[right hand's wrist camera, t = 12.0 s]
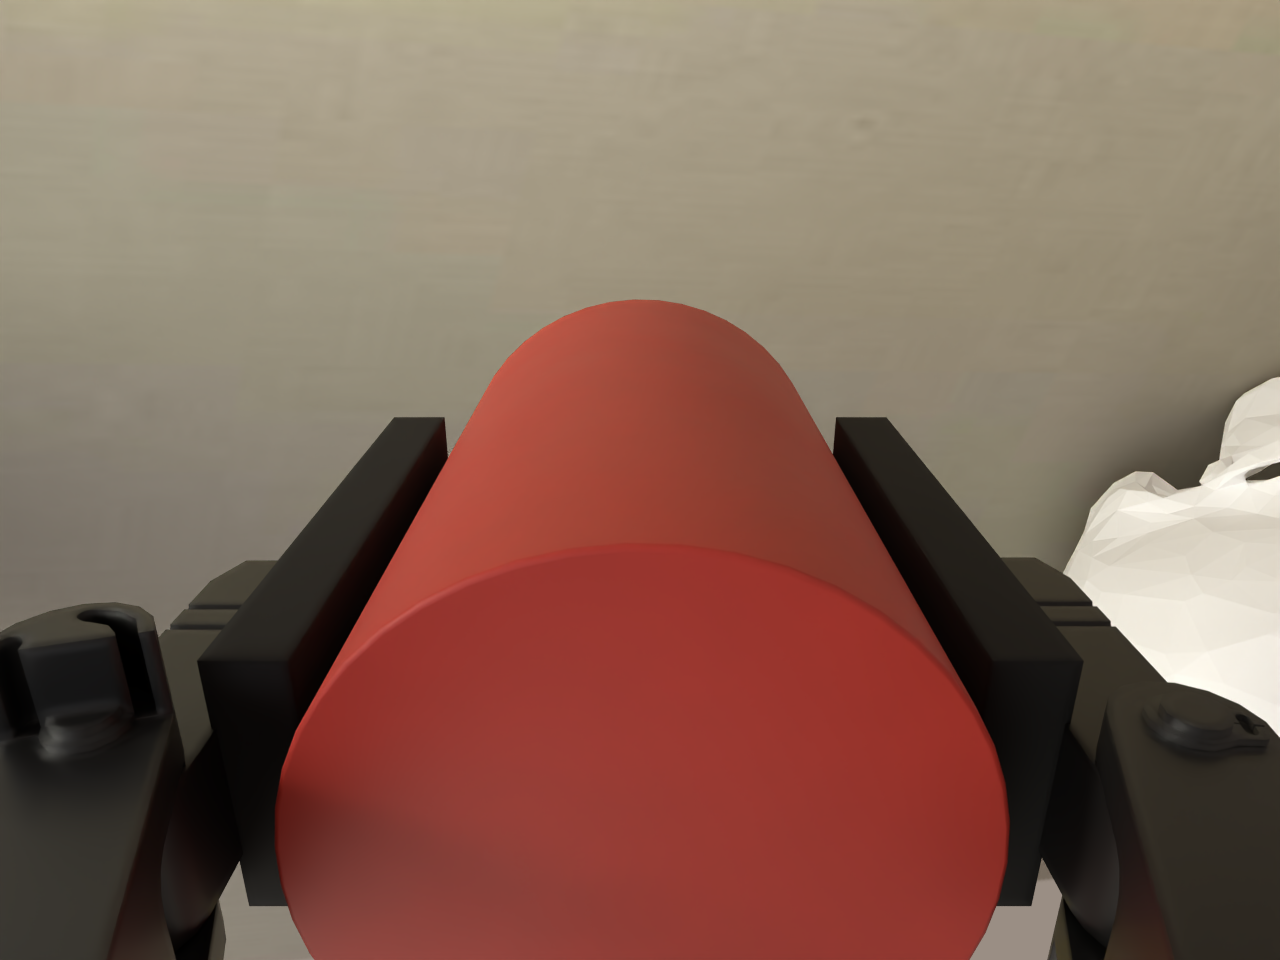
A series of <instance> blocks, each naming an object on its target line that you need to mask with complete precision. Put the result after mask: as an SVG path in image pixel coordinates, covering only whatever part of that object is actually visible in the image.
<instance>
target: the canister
mask: <svg viewBox="0 0 1280 960" xmlns="http://www.w3.org/2000/svg"><path fill="white" fill-rule="evenodd" d="M1009 830H1010V817H1009V808H1008V799H1007V790H1006V782H1005V779H1004V776H1003V772H1002V769H1001V765H1000V762H999V758H998V755H997V752H996V748H995V745H994V743H993V741H992V739H991V737H990V735H989V733H988V731H987V728H986V726H985V724H984V722H983V720H982V718H981V716H980V714H979V712H978V710H977V708H976V706H975V704H974V703H973V701H972V699H971V697H970V696H969V694H968V692H967V690H966V689H965V687H964V685H963V683H962V681H961V680H960V678H959V676H958V674H957V673H956V671H955V669H954V667H953V666H952V664H951V662H950V660H949V659H948V657H947V655H946V653H945V652H944V650H943V648H942V646H941V644H940V643H939V641H938V639H937V637H936V636H935V634H934V632H933V630H932V629H931V627H930V625H929V623H928V622H927V620H926V618H925V616H924V615H923V613H922V611H921V609H920V607H919V606H918V604H917V602H916V600H915V599H914V597H913V595H912V593H911V592H910V590H909V588H908V586H907V585H906V583H905V581H904V579H903V577H902V576H901V574H900V572H899V570H898V569H897V567H896V565H895V563H894V562H893V560H892V558H891V556H890V555H889V553H888V551H887V549H886V548H885V546H884V544H883V542H882V540H881V539H880V537H879V535H878V533H877V532H876V530H875V528H874V526H873V525H872V523H871V521H870V519H869V518H868V516H867V514H866V512H865V511H864V509H863V507H862V505H861V503H860V502H859V500H858V498H857V496H856V495H855V493H854V491H853V489H852V488H851V486H850V484H849V482H848V481H847V479H846V477H845V475H844V474H843V472H842V470H841V468H840V466H839V465H838V463H837V461H836V459H835V458H834V456H833V454H832V452H831V451H830V449H829V447H828V445H827V444H826V442H825V440H824V438H823V437H822V435H821V433H820V431H819V429H818V428H817V426H816V424H815V422H814V421H813V419H812V417H811V415H810V414H809V412H808V410H807V408H806V407H805V405H804V403H803V401H802V399H801V398H800V396H799V394H798V392H797V391H796V389H795V387H794V385H793V384H792V382H791V381H790V379H789V378H788V376H787V375H786V373H785V372H784V370H783V369H782V368H781V366H780V365H779V363H778V362H777V361H776V360H775V359H774V358H773V357H772V356H771V355H770V354H769V353H768V351H767V350H766V349H765V348H764V347H763V346H761V345H760V344H759V343H758V342H757V341H755V340H754V339H753V338H752V337H751V336H749V335H748V334H747V333H746V332H744V331H742V330H741V329H739V328H737V327H736V326H734V325H733V324H731V323H729V322H728V321H726V320H724V319H722V318H719V317H717V316H715V315H713V314H711V313H708V312H706V311H703V310H700V309H697V308H693V307H690V306H687V305H683V304H678V303H672V302H666V301H659V300H625V301H616V302H608V303H604V304H600V305H596V306H592V307H588V308H584V309H582V310H579V311H577V312H574V313H572V314H569V315H566V316H564V317H562V318H560V319H558V320H557V321H555V322H553V323H551V324H549V325H548V326H546V327H544V328H542V329H541V330H540V331H538V332H537V333H536V334H534V335H533V336H532V337H530V338H529V339H528V340H526V341H525V342H524V343H523V344H522V345H521V346H520V347H519V348H518V349H517V350H516V351H515V352H514V353H513V354H512V355H511V356H509V357H508V359H507V360H506V361H505V363H504V364H503V365H502V366H501V368H500V369H499V370H498V372H497V373H496V374H495V376H494V377H493V379H492V381H491V383H490V384H489V386H488V388H487V390H486V391H485V393H484V395H483V397H482V398H481V400H480V402H479V404H478V406H477V407H476V409H475V411H474V413H473V415H472V416H471V418H470V420H469V422H468V424H467V425H466V427H465V429H464V431H463V432H462V434H461V436H460V438H459V440H458V441H457V443H456V445H455V447H454V449H453V450H452V452H451V454H450V456H449V457H448V459H447V461H446V463H445V465H444V466H443V468H442V470H441V472H440V474H439V475H438V477H437V479H436V481H435V483H434V484H433V486H432V488H431V490H430V491H429V493H428V495H427V497H426V499H425V500H424V502H423V504H422V506H421V508H420V509H419V511H418V513H417V515H416V517H415V518H414V520H413V522H412V524H411V525H410V527H409V529H408V531H407V533H406V534H405V536H404V538H403V540H402V542H401V543H400V545H399V547H398V549H397V551H396V552H395V554H394V556H393V558H392V559H391V561H390V563H389V565H388V567H387V568H386V570H385V572H384V574H383V576H382V577H381V579H380V581H379V583H378V585H377V586H376V588H375V590H374V592H373V593H372V595H371V597H370V599H369V601H368V602H367V604H366V606H365V608H364V610H363V611H362V613H361V615H360V617H359V619H358V620H357V622H356V624H355V626H354V627H353V629H352V631H351V633H350V635H349V636H348V638H347V640H346V642H345V644H344V645H343V647H342V649H341V651H340V652H339V654H338V656H337V658H336V660H335V661H334V663H333V665H332V667H331V669H330V670H329V672H328V674H327V676H326V678H325V679H324V681H323V683H322V685H321V686H320V688H319V690H318V692H317V694H316V695H315V697H314V699H313V701H312V703H311V704H310V706H309V708H308V710H307V712H306V713H305V715H304V717H303V719H302V720H301V722H300V724H299V726H298V728H297V729H296V731H295V734H294V737H293V740H292V742H291V745H290V748H289V751H288V753H287V756H286V759H285V762H284V764H283V767H282V771H281V776H280V782H279V787H278V793H277V798H276V804H275V852H276V858H277V864H278V870H279V877H280V883H281V887H282V890H283V893H284V896H285V899H286V902H287V905H288V908H289V911H290V914H291V917H292V920H293V922H294V924H295V926H296V928H297V929H298V931H299V933H300V935H301V937H302V939H303V941H304V943H305V945H306V947H307V949H308V951H309V953H310V954H311V956H312V957H313V958H314V960H970V958H971V956H972V955H973V953H974V951H975V950H976V948H977V946H978V944H979V943H980V941H981V939H982V938H983V936H984V934H985V932H986V930H987V927H988V925H989V923H990V920H991V918H992V915H993V913H994V910H995V908H996V905H997V903H998V900H999V897H1000V893H1001V889H1002V884H1003V880H1004V876H1005V871H1006V867H1007V863H1008V847H1009Z"/></svg>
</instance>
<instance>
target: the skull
mask: <svg viewBox="0 0 1280 960" xmlns="http://www.w3.org/2000/svg"><path fill="white" fill-rule="evenodd" d="M1278 462H1280V377H1276V378H1272V379H1270V380H1268V381H1266V382H1264V383H1262V384H1261V385H1259V386H1257V387H1255V388H1253V389H1251V390H1249V391H1247V392H1246V393H1244V394H1243V395H1242V396H1241V397H1240V398H1239V399H1238V400H1237V401H1236V402H1235V404H1234V406H1233V408H1232V410H1231V412H1230V414H1229V416H1228V418H1227V420H1226V422H1225V427H1224V433H1223V439H1222V445H1221V451H1220V458H1219V460H1218V461H1216V462H1214V463H1212V464H1209V465H1208V467H1207V468H1206V470H1205V472H1204V474H1203V476H1202V477H1201V479H1200V481H1199V482H1200V483H1201V486H1198V487H1192V488H1186V489H1180V490H1177V489H1176V488H1174V487H1173V486H1171V485H1170V484H1169V483H1167V482H1166V481H1165V480H1163V479H1162V478H1160V477H1159V476H1158V475H1156V474H1155V473H1154V472H1138V471H1135V472H1133V473H1132V474H1130V475H1128V476H1126V477H1124V478H1122V479H1120V480H1118V481H1116V482H1114V483H1113V484H1112V485H1111V486H1110V488H1109V489H1108V490H1107V491H1106V492H1105V493H1104V494H1103V495H1102V496H1101V497H1100V499H1099V500H1098V501H1097V502H1096V503H1095V504H1094V505H1093V506H1092V507H1091V510H1090V513H1089V517H1088V520H1087V523H1086V526H1085V530H1084V532H1083V534H1082V536H1081V538H1080V540H1079V543H1078V545H1077V547H1076V549H1075V551H1074V553H1073V555H1072V556H1071V558H1070V560H1069V562H1068V564H1067V566H1066V568H1065V570H1064V572H1063V574H1065V575H1066V576H1068V577H1070V578H1071V579H1072V580H1073V581H1074V582H1075V583H1076V584H1077V585H1078V586H1079V588H1080V589H1081V590H1082V591H1083V592H1084V593H1085V594H1086V595H1087V596H1088V597H1089V598H1090V599H1091V600H1092V604H1093V606H1097V607H1098V608H1099V609H1100V610H1101V611H1102V612H1103V613H1104V614H1105V616H1106V617H1107V618H1108V619H1109V620H1110V621H1111V626H1116V627H1117V628H1118V630H1119V631H1120V632H1121V633H1122V634H1123V635H1124V636H1125V637H1126V638H1127V639H1128V640H1129V641H1130V642H1131V644H1132V645H1133V646H1134V647H1135V648H1136V649H1137V650H1138V651H1139V652H1140V653H1141V654H1142V655H1143V656H1144V658H1145V659H1146V660H1147V661H1148V662H1149V663H1150V664H1151V665H1152V666H1153V667H1154V668H1155V669H1156V670H1157V672H1158V673H1159V674H1160V675H1161V676H1162V677H1163V678H1164V679H1165V680H1166V681H1167V682H1171V683H1178V684H1182V685H1186V686H1190V687H1194V688H1199V689H1203V690H1207V691H1210V692H1212V693H1214V694H1217V695H1219V696H1221V697H1224V698H1226V699H1228V700H1231V701H1233V702H1236V703H1238V704H1240V705H1242V706H1243V707H1245V708H1246V709H1248V710H1249V711H1251V712H1252V713H1254V714H1255V715H1257V716H1258V717H1260V718H1261V719H1263V720H1264V721H1266V722H1267V723H1268V725H1269V726H1270V727H1271V728H1272V729H1273V730H1274V731H1275V733H1276V734H1277V735H1278V736H1279V737H1280V476H1278V477H1275V478H1272V479H1269V480H1246V479H1245V478H1248V477H1250V476H1252V475H1254V474H1256V473H1258V472H1260V471H1262V470H1264V469H1265V468H1267V467H1268V466H1270V465H1271V464H1274V463H1278Z"/></svg>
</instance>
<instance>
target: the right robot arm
mask: <svg viewBox="0 0 1280 960" xmlns="http://www.w3.org/2000/svg"><path fill="white" fill-rule="evenodd" d="M833 456H834V458H835V459H836V461H837V463H838V465H839V466H840V468H841V470H842V472H843V474H844V475H845V477H846V479H847V481H848V482H849V484H850V486H851V488H852V489H853V491H854V493H855V495H856V496H857V498H858V500H859V502H860V503H861V505H862V507H863V509H864V511H865V512H866V514H867V516H868V518H869V519H870V521H871V523H872V525H873V526H874V528H875V530H876V532H877V533H878V535H879V537H880V539H881V540H882V542H883V544H884V546H885V548H886V549H887V551H888V553H889V555H890V556H891V558H892V560H893V562H894V563H895V565H896V567H897V569H898V570H899V572H900V574H901V576H902V577H903V579H904V581H905V583H906V585H907V586H908V588H909V590H910V592H911V593H912V595H913V597H914V599H915V600H916V602H917V604H918V606H919V607H920V609H921V611H922V613H923V615H924V616H925V618H926V620H927V622H928V623H929V625H930V627H931V629H932V630H933V632H934V634H935V636H936V637H937V639H938V641H939V643H940V644H941V646H942V648H943V650H944V652H945V653H946V655H947V657H948V659H949V660H950V662H951V664H952V666H953V667H954V669H955V671H956V673H957V674H958V676H959V678H960V680H961V681H962V683H963V685H964V687H965V689H966V690H967V692H968V694H969V696H970V697H971V699H972V701H973V703H974V704H975V706H976V708H977V710H978V712H979V714H980V716H981V718H982V720H983V722H984V724H985V726H986V728H987V731H988V733H989V735H990V737H991V739H992V741H993V743H994V745H995V748H996V752H997V755H998V758H999V762H1000V765H1001V769H1002V772H1003V776H1004V779H1005V782H1006V790H1007V799H1008V808H1009V817H1010V830H1009V847H1008V863H1007V867H1006V871H1005V876H1004V880H1003V884H1002V889H1001V893H1000V897H999V900H998V903H997V905H996V906H1031V905H1032V900H1033V896H1034V891H1035V886H1036V882H1037V877H1038V872H1039V868H1040V863H1041V858H1043V860H1044V862H1045V864H1046V866H1047V868H1048V869H1049V871H1050V873H1051V875H1052V877H1053V879H1054V881H1055V882H1056V884H1057V886H1058V888H1059V890H1060V892H1061V893H1062V899H1061V903H1060V908H1059V912H1058V916H1057V921H1056V925H1055V929H1054V934H1053V938H1052V942H1051V947H1050V951H1049V955H1048V960H1280V737H1279V736H1278V735H1277V734H1276V733H1275V731H1274V730H1273V729H1272V728H1271V727H1270V726H1269V725H1268V723H1267V722H1266V721H1264V720H1263V719H1261V718H1260V717H1258V716H1257V715H1255V714H1254V713H1252V712H1251V711H1249V710H1248V709H1246V708H1245V707H1243V706H1242V705H1240V704H1238V703H1236V702H1233V701H1231V700H1228V699H1226V698H1224V697H1221V696H1219V695H1217V694H1214V693H1212V692H1210V691H1207V690H1203V689H1199V688H1194V687H1190V686H1186V685H1182V684H1178V683H1171V682H1167V681H1166V680H1165V679H1164V678H1163V677H1162V676H1161V675H1160V674H1159V673H1158V672H1157V670H1156V669H1155V668H1154V667H1153V666H1152V665H1151V664H1150V663H1149V662H1148V661H1147V660H1146V659H1145V658H1144V656H1143V655H1142V654H1141V653H1140V652H1139V651H1138V650H1137V649H1136V648H1135V647H1134V646H1133V645H1132V644H1131V642H1130V641H1129V640H1128V639H1127V638H1126V637H1125V636H1124V635H1123V634H1122V633H1121V632H1120V631H1119V630H1118V628H1117V627H1116V626H1111V621H1110V620H1109V619H1108V618H1107V617H1106V616H1105V614H1104V613H1103V612H1102V611H1101V610H1100V609H1099V608H1098V607H1097V606H1093V604H1092V600H1091V599H1090V598H1089V597H1088V596H1087V595H1086V594H1085V593H1084V592H1083V591H1082V590H1081V589H1080V588H1079V586H1078V585H1077V584H1076V583H1075V582H1074V581H1073V580H1072V579H1071V578H1070V577H1068V576H1066V575H1065V574H1063V573H1061V572H1059V571H1057V570H1056V569H1054V568H1052V567H1050V566H1049V565H1047V564H1045V563H1043V562H1041V561H1040V560H1038V559H1036V558H1000V557H999V556H998V554H997V553H996V552H995V551H994V549H993V548H992V547H991V546H990V544H989V543H988V542H987V541H986V540H985V538H984V537H983V536H982V535H981V533H980V532H979V531H978V530H977V528H976V527H975V526H974V525H973V524H972V522H971V521H970V520H969V519H968V517H967V516H966V515H965V514H964V512H963V511H962V510H961V509H960V508H959V506H958V505H957V504H956V503H955V501H954V500H953V499H952V498H951V496H950V495H949V494H948V493H947V491H946V490H945V489H944V488H943V487H942V485H941V484H940V483H939V482H938V480H937V479H936V478H935V477H934V475H933V474H932V473H931V472H930V471H929V469H928V468H927V467H926V466H925V464H924V463H923V462H922V461H921V459H920V458H919V457H918V456H917V455H916V453H915V452H914V451H913V450H912V448H911V447H910V446H909V445H908V443H907V442H906V441H905V440H904V439H903V437H902V436H901V435H900V434H899V432H898V431H897V430H896V429H895V427H894V426H893V425H892V424H891V423H890V421H889V420H888V419H887V418H886V417H836V425H835V437H834V449H833ZM447 459H448V453H447V441H446V430H445V418H444V417H394V418H393V420H392V421H391V422H390V423H389V425H388V426H387V427H386V428H385V429H384V431H383V432H382V433H381V434H380V436H379V437H378V438H377V439H376V441H375V442H374V443H373V444H372V445H371V447H370V448H369V449H368V450H367V452H366V453H365V454H364V455H363V457H362V458H361V459H360V460H359V461H358V463H357V464H356V465H355V466H354V468H353V469H352V470H351V471H350V473H349V474H348V475H347V476H346V478H345V479H344V480H343V481H342V482H341V484H340V485H339V486H338V487H337V489H336V490H335V491H334V492H333V494H332V495H331V496H330V497H329V498H328V500H327V501H326V502H325V503H324V505H323V506H322V507H321V508H320V510H319V511H318V512H317V513H316V514H315V516H314V517H313V518H312V519H311V521H310V522H309V523H308V524H307V526H306V527H305V528H304V529H303V530H302V532H301V533H300V534H299V535H298V537H297V538H296V539H295V540H294V542H293V543H292V544H291V545H290V547H289V548H288V549H287V550H286V551H285V553H284V554H283V555H282V556H281V558H280V559H279V560H278V561H245V562H243V563H242V564H240V565H238V566H236V567H235V568H233V569H231V570H229V571H228V572H226V573H224V574H222V575H220V576H219V577H217V578H215V579H213V580H212V581H210V582H209V583H208V585H207V586H206V587H205V588H204V589H203V590H202V591H201V592H200V593H199V594H198V595H197V596H196V598H195V599H194V600H193V601H192V602H191V603H190V604H189V610H184V611H183V612H182V613H181V614H180V615H179V616H178V617H177V618H176V619H175V620H174V621H173V623H172V624H171V628H170V630H165V631H164V632H163V633H162V635H161V636H160V637H159V638H158V635H157V630H156V626H155V622H154V617H153V616H152V615H151V614H149V613H148V612H146V611H145V610H144V609H142V608H141V607H139V606H133V605H127V604H122V603H116V602H114V603H94V604H82V605H77V606H72V607H68V608H63V609H58V610H53V611H49V612H46V613H43V614H41V615H38V616H35V617H32V618H30V619H27V620H24V621H21V622H18V623H16V624H14V625H12V626H10V627H9V628H7V629H5V630H3V631H1V632H0V960H223V958H224V951H225V943H226V935H225V928H224V921H223V916H222V912H221V908H220V903H219V898H220V896H221V894H222V892H223V890H224V889H225V887H226V885H227V883H228V881H229V879H230V877H231V875H232V874H233V872H234V870H235V868H236V866H237V864H238V862H239V861H240V865H241V869H242V874H243V879H244V883H245V888H246V893H247V897H248V902H249V906H288V905H287V902H286V899H285V896H284V893H283V890H282V887H281V883H280V877H279V870H278V864H277V858H276V852H275V804H276V798H277V793H278V787H279V782H280V776H281V771H282V767H283V764H284V762H285V759H286V756H287V753H288V751H289V748H290V745H291V742H292V740H293V737H294V734H295V731H296V729H297V728H298V726H299V724H300V722H301V720H302V719H303V717H304V715H305V713H306V712H307V710H308V708H309V706H310V704H311V703H312V701H313V699H314V697H315V695H316V694H317V692H318V690H319V688H320V686H321V685H322V683H323V681H324V679H325V678H326V676H327V674H328V672H329V670H330V669H331V667H332V665H333V663H334V661H335V660H336V658H337V656H338V654H339V652H340V651H341V649H342V647H343V645H344V644H345V642H346V640H347V638H348V636H349V635H350V633H351V631H352V629H353V627H354V626H355V624H356V622H357V620H358V619H359V617H360V615H361V613H362V611H363V610H364V608H365V606H366V604H367V602H368V601H369V599H370V597H371V595H372V593H373V592H374V590H375V588H376V586H377V585H378V583H379V581H380V579H381V577H382V576H383V574H384V572H385V570H386V568H387V567H388V565H389V563H390V561H391V559H392V558H393V556H394V554H395V552H396V551H397V549H398V547H399V545H400V543H401V542H402V540H403V538H404V536H405V534H406V533H407V531H408V529H409V527H410V525H411V524H412V522H413V520H414V518H415V517H416V515H417V513H418V511H419V509H420V508H421V506H422V504H423V502H424V500H425V499H426V497H427V495H428V493H429V491H430V490H431V488H432V486H433V484H434V483H435V481H436V479H437V477H438V475H439V474H440V472H441V470H442V468H443V466H444V465H445V463H446V461H447Z"/></svg>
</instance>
